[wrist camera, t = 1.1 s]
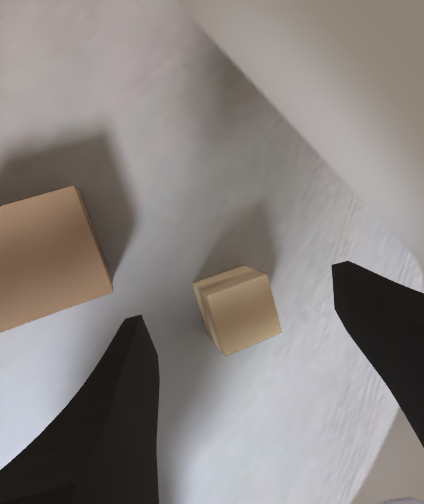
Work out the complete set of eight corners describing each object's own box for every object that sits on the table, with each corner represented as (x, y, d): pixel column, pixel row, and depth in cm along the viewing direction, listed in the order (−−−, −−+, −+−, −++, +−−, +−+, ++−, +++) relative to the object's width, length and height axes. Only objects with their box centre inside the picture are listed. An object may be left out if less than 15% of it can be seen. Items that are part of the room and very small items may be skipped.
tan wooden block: (112, 278, 23) (113, 291, 19) (17, 312, 22) (-2, 333, 18) (79, 190, 22) (73, 185, 18) (-23, 219, 21) (-53, 221, 17)
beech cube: (257, 315, 26) (282, 332, 23) (207, 334, 25) (224, 356, 22) (243, 264, 26) (266, 274, 22) (191, 283, 25) (206, 296, 21)
